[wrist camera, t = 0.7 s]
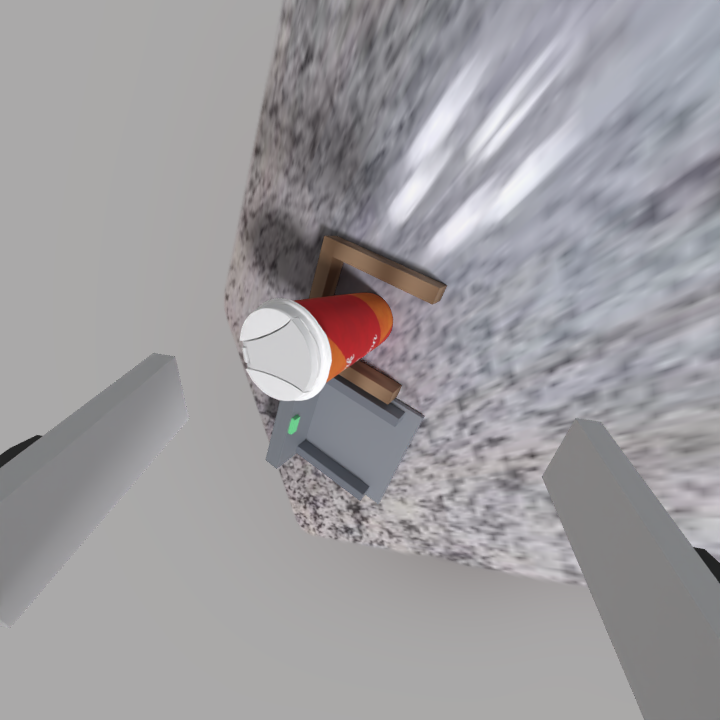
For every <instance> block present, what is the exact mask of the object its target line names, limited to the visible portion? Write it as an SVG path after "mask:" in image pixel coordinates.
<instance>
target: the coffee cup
mask: <svg viewBox="0 0 720 720" xmlns="http://www.w3.org/2000/svg"><path fill="white" fill-rule="evenodd" d="M392 326H393V316H392V312H391V309H390V307H389V306H388V304H387V303H386V301H385V300H384V299H383V298H381V297H380V296H378V295H376V294H373V293H353V294H344V295H335V296H327V297H319V298H311V299H303V300H295V301H292V300H289V299H284V298H275V299H270V300H268V301H266V302H264V303H262V304H261V305H260V306H259V307H258V308H257V309H256V310H255V311H254V312H252V313H251V314H250V315H249V316H248V317H247V319H246V320H245V322H244V324H243V327H242V330H241V334H240V341H242V342H243V347H242V352H243V356H244V361H245V362H247V365H248V368H247V369H246V370H247V372H248V374H249V376H250V377H251V379H252V380H253V381H254V383H255V384H256V385H257V386H258V387H259V388H260V389H261V390H262V391H263V392H264V393H266V394H267V395H269V396H270V397H272V398H275V399H277V400H282V401H292V400H295V401H302V400H307V399H310V398H312V397H314V396H315V395H317V394H318V393H319V392H320V391H321V390H322V388H323V387H324V385H325V384H326V383H327V382H328V381H329V380H331V379H332V378H334V377H335V376H336V375H338V374H339V373H341V372H342V371H344V370H345V369H346V368H348V367H349V366H351V365H352V364H354V363H355V362H356V361H358V360H359V359H361V358H362V357H363V356H365V355H366V354H368V353H369V352H370V351H372V350H373V349H374V348H376V347H377V346H378V345H380V344H381V343H382V342H383V341H385V340H386V339H387V337H388V336H389V334H390V333H391V330H392Z"/></svg>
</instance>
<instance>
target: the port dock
mask: <svg viewBox="0 0 720 720" xmlns="http://www.w3.org/2000/svg"><path fill="white" fill-rule="evenodd" d="M423 418H424V416H423V415H422V414H420V413H419V412H417V411H415V410H414V409H412V408H410V407H409V406H407V405H405V404H404V403H402V402H400V401H399V400H397V399H394V400H393V401H391V402H390V403H389V404H388V405H387V404H386V403H384V402H383V401H381V400H379V399H378V398H376V397H375V396H373V395H371V394H370V393H368V392H366V391H365V390H363V389H362V388H360V387H358V386H357V385H355V384H354V383H352V382H350V381H349V380H347V379H346V378H344V377H342V376H341V375H339V374H338V375H336V376H335V377H334V378H332V379H331V380H329V381H328V382H327V383H326V384H325V385H324V387H323V388H322V390H321V391H320V392H319V393H318V394H317V395H315V396H314V397H312V398H310V399H307V400H302V401H295V400H292V401H282V400H280V403H279V407H278V411H277V415H276V419H275V423H274V428H273V432H272V436H271V440H270V444H269V448H268V452H267V457H266V461H268V462H269V463H270V464H271V465H273V466H274V467H275V468H276V469H277V468H278V467H280V466H281V465H282V464H283V463H285V462H286V461H287V460H289V459H290V458H291V457H292V456H294V455H295V454H296V453H298V454H299V455H300V456H301V457H303V458H304V459H305V460H307V461H308V462H309V463H311V464H312V465H313V466H315V467H316V468H317V469H319V470H320V471H321V472H323V473H324V474H325V475H327V476H328V477H329V478H331V479H332V480H333V481H335V482H336V483H337V484H338V485H340V486H341V487H342V488H344V489H345V490H346V491H348V492H349V493H350V494H352V495H353V496H354V497H356V498H357V499H358V500H360V501H361V499H362V498H363V497H364V495H367V496H368V497H369V498H371V499H372V500H373V501H375V502H376V503H377V504H379V502H380V501H381V499H382V497H383V495H384V493H385V491H386V489H387V487H388V486H389V484H390V482H391V480H392V478H393V476H394V474H395V472H396V470H397V468H398V466H399V464H400V463H401V461H402V459H403V457H404V455H405V453H406V451H407V449H408V447H409V445H410V443H411V441H412V439H413V438H414V436H415V434H416V432H417V430H418V428H419V426H420V424H421V422H422V420H423Z"/></svg>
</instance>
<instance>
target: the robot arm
mask: <svg viewBox="0 0 720 720" xmlns="http://www.w3.org/2000/svg"><path fill="white" fill-rule="evenodd" d="M188 419H189V415H188V411H187V406H186V402H185V398H184V393H183V389H182V385H181V381H180V376H179V372H178V367H177V363H176V359H175V356H168V355H162V354H156V353H153V354H152V355H150V356H149V357H148V358H146V359H145V360H144V361H142V362H141V363H140V364H138V365H137V366H136V367H134V368H133V369H132V370H130V371H129V372H128V373H126V374H125V375H124V376H122V377H121V378H120V379H118V380H117V381H116V382H114V383H113V384H112V385H110V386H109V387H108V388H106V389H105V390H104V391H102V392H101V393H100V394H98V395H97V396H96V397H94V398H93V399H92V400H90V401H89V402H88V403H86V404H85V405H84V406H82V407H81V408H80V409H78V410H77V411H76V412H74V413H73V414H72V415H70V416H69V417H68V418H66V419H65V420H64V421H62V422H61V423H60V424H58V425H57V426H56V427H54V428H53V429H52V430H50V431H49V432H48V433H46V434H45V435H44V436H40V435H36V436H34V437H32V438H30V439H28V440H26V441H24V442H22V443H20V444H18V445H16V446H14V447H12V448H10V449H8V450H7V451H5V452H4V453H3V454H1V455H0V626H2V627H7V628H11V626H12V625H13V624H14V623H15V621H16V620H17V619H18V618H19V617H20V616H21V615H22V613H23V612H24V611H25V610H26V609H27V608H28V606H29V605H30V604H31V603H32V602H33V601H34V599H35V598H36V597H37V596H38V595H39V594H40V592H41V591H42V590H43V589H44V588H45V587H46V585H47V584H48V583H49V582H50V581H51V580H52V578H53V577H54V576H55V575H56V574H57V573H58V571H59V570H60V569H61V568H62V567H63V566H64V564H65V563H66V562H67V561H68V560H69V559H70V557H71V556H72V555H73V554H74V553H75V552H76V550H77V549H78V548H79V547H80V546H81V544H82V543H83V542H84V541H85V540H86V539H87V537H88V536H89V535H90V534H91V533H92V532H93V530H94V529H95V528H96V527H97V526H98V524H99V523H100V522H101V521H102V520H103V519H104V518H105V516H106V515H107V514H108V513H109V512H110V510H111V509H112V508H113V507H114V506H115V505H116V504H117V502H118V501H119V500H120V499H121V498H122V497H123V495H124V494H125V493H126V492H127V491H128V490H129V488H130V487H131V486H132V485H133V483H134V482H135V481H136V480H137V479H138V478H139V477H140V475H141V474H142V473H143V472H144V471H145V469H146V468H147V467H148V466H149V465H150V464H151V462H152V461H153V460H154V459H155V458H156V456H158V454H159V453H160V452H161V451H162V450H163V449H164V447H165V446H166V445H167V444H168V443H169V442H170V440H171V439H172V438H173V437H174V436H175V435H176V433H177V432H178V431H179V430H180V429H181V428H182V426H183V425H184V424H185V423H186V422H187V420H188ZM542 478H543V480H544V483H545V485H546V487H547V490H548V492H549V494H550V497H551V499H552V502H553V504H554V506H555V509H556V511H557V513H558V516H559V518H560V521H561V523H562V525H563V528H564V530H565V532H566V535H567V537H568V540H569V542H570V544H571V547H572V549H573V551H574V554H575V556H576V559H577V561H578V563H579V566H580V568H581V570H582V573H583V575H584V578H585V580H586V582H587V585H588V587H589V589H590V592H591V594H592V597H593V599H594V601H595V604H596V606H597V608H598V611H599V613H600V615H601V618H602V620H603V623H604V625H605V627H606V630H607V632H608V635H609V637H610V639H611V642H612V644H613V646H614V649H615V651H616V653H617V656H618V658H619V661H620V663H621V665H622V668H623V670H624V673H625V675H626V677H627V680H628V682H629V684H630V687H631V689H632V692H633V694H634V696H635V699H636V701H637V703H638V706H639V708H640V710H641V713H642V715H643V718H644V720H720V563H719V562H718V561H717V560H716V559H715V558H714V557H713V556H711V555H710V554H709V553H708V552H707V551H706V550H705V549H701V548H695V547H692V545H691V544H690V543H689V541H688V540H687V538H686V537H685V536H684V534H683V533H682V532H681V530H680V529H679V528H678V526H677V525H676V523H675V522H674V521H673V519H672V518H671V517H670V515H669V514H668V513H667V511H666V510H665V509H664V507H663V506H662V504H661V503H660V502H659V500H658V499H657V498H656V496H655V495H654V494H653V492H652V491H651V489H650V488H649V487H648V485H647V484H646V483H645V481H644V480H643V479H642V477H641V476H640V474H639V473H638V472H637V470H636V469H635V468H634V466H633V465H632V464H631V462H630V461H629V460H628V458H627V457H626V455H625V454H624V453H623V451H622V450H621V449H620V447H619V446H618V445H617V443H616V442H615V440H614V439H613V438H612V436H611V435H610V434H609V432H608V431H607V430H606V428H605V427H604V426H603V424H602V423H601V422H597V421H591V420H584V419H578V418H576V419H575V420H574V422H573V424H572V426H571V427H570V429H569V431H568V432H567V434H566V436H565V438H564V439H563V441H562V443H561V445H560V446H559V448H558V450H557V452H556V453H555V455H554V457H553V459H552V460H551V462H550V464H549V465H548V467H547V469H546V471H545V472H544V474H543V476H542Z"/></svg>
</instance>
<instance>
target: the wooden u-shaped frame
mask: <svg viewBox="0 0 720 720" xmlns="http://www.w3.org/2000/svg"><path fill="white" fill-rule="evenodd" d="M343 262H345V263H347V264H349V265H351V266H353V267H355V268H357V269H359V270H361V271H364V272H366V273H368V274H370V275H372V276H374V277H376V278H378V279H380V280H382V281H384V282H387V283H389V284H391V285H393V286H395V287H397V288H399V289H401V290H403V291H405V292H407V293H410V294H412V295H414V296H416V297H418V298H420V299H422V300H424V301H426V302H428V303H430V304H434V303H437V302H439V301H440V300H441V298H442V296H443V293H444V291H445V289H446V287H447V285H445V284H443V283H440V282H438V281H436V280H434V279H432V278H429V277H427V276H425V275H423V274H420V273H418V272H416V271H414V270H412V269H409V268H407V267H405V266H403V265H400V264H398V263H396V262H394V261H392V260H389V259H387V258H385V257H383V256H380V255H378V254H376V253H374V252H372V251H369V250H367V249H365V248H363V247H360V246H358V245H356V244H354V243H352V242H349V241H347V240H345V239H343V238H340V237H338V236H324V240H323V244H322V248H321V252H320V256H319V260H318V264H317V268H316V272H315V276H314V280H313V284H312V288H311V292H310V296H309V299H311V298H319V297H327V296H334V293H335V290H336V286H337V283H338V279H339V276H340V272H341V269H342V265H343ZM339 375H341V376H342V377H344V378H346V379H347V380H349V381H350V382H352V383H354V384H355V385H357V386H358V387H360V388H362V389H363V390H365V391H366V392H368V393H370V394H371V395H373V396H375V397H376V398H378V399H379V400H381V401H383V402H384V403H386V404H387V405H388V404H389V403H390V402H391V401H393V400H394V399H395V398H396V397H397V395H398V393H399V391H400V388H401V386H402V385H400V384H399V383H397V382H395V381H393V380H392V379H390V378H388V377H387V376H385V375H383V374H382V373H380V372H378V371H376V370H375V369H373V368H371V367H370V366H368V365H366V364H365V363H363V362H361V361H359V360H358V361H356V362H355V363H354V364H352V365H351V366H349V367H348V368H346V369H345V370H344V371H342V372H341V373H339Z"/></svg>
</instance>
